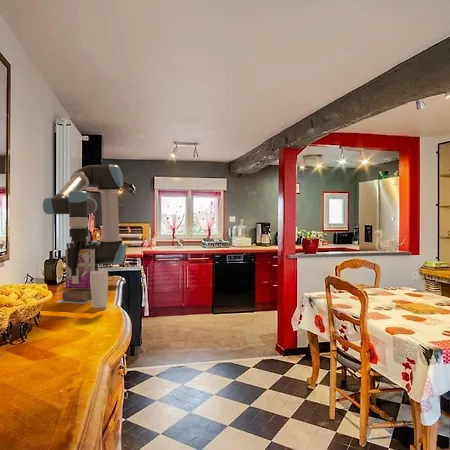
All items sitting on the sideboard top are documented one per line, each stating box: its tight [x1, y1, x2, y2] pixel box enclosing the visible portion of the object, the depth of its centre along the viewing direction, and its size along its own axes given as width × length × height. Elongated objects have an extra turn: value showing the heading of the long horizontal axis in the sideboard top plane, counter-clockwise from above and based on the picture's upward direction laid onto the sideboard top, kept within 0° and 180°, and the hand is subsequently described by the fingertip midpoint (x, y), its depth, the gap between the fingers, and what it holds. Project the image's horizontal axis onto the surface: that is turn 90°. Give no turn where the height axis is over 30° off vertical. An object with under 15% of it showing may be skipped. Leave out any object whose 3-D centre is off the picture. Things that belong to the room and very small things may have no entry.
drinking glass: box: [90, 270, 109, 312], centre depth 150 cm, size 7×7×15 cm
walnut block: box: [61, 288, 92, 302], centre depth 164 cm, size 10×10×4 cm
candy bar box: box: [64, 249, 95, 289], centre depth 164 cm, size 11×5×16 cm, turn 84°
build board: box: [56, 299, 92, 305], centre depth 164 cm, size 14×14×2 cm
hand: (80, 282), depth 164 cm, fingers closed on candy bar box, 5 cm apart
